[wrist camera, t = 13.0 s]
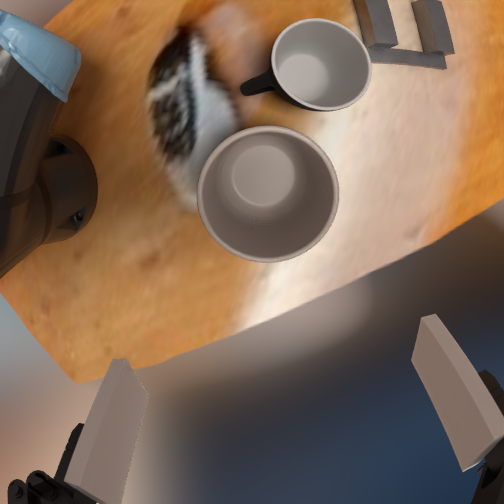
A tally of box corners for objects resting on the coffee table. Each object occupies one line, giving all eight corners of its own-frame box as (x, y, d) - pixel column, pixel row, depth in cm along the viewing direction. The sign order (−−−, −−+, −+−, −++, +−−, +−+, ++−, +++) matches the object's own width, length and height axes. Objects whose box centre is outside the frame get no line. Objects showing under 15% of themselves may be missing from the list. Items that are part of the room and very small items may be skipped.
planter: (237, 107, 31) (231, 101, 21) (331, 152, 33) (363, 167, 24) (197, 200, 36) (176, 232, 26) (286, 238, 38) (298, 281, 28)
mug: (325, 37, 27) (352, 11, 18) (349, 103, 31) (384, 100, 21) (229, 62, 29) (220, 40, 20) (255, 130, 32) (257, 133, 23)
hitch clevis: (368, 62, 28) (379, 58, 25) (352, -5, 24) (361, -14, 21) (442, 69, 27) (457, 67, 24) (428, 7, 23) (441, 1, 20)
